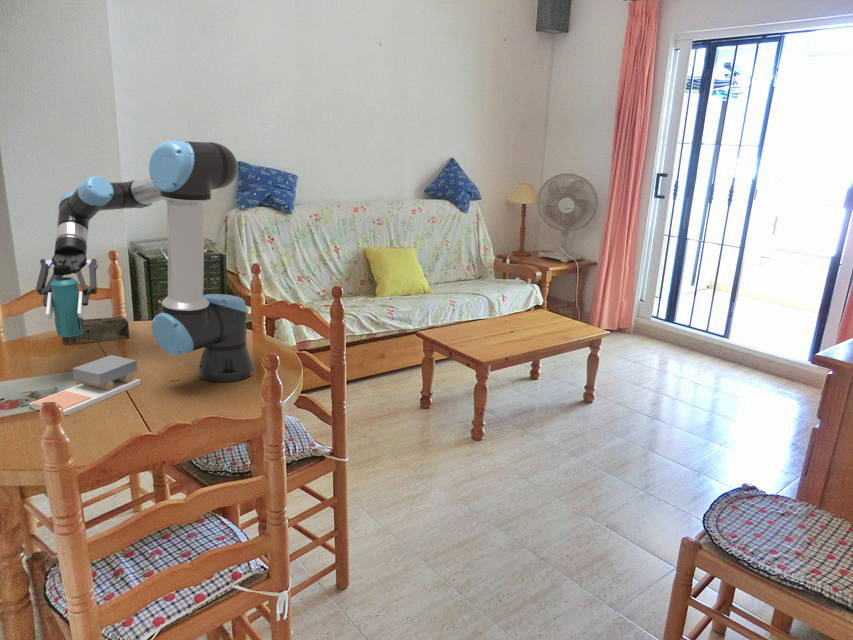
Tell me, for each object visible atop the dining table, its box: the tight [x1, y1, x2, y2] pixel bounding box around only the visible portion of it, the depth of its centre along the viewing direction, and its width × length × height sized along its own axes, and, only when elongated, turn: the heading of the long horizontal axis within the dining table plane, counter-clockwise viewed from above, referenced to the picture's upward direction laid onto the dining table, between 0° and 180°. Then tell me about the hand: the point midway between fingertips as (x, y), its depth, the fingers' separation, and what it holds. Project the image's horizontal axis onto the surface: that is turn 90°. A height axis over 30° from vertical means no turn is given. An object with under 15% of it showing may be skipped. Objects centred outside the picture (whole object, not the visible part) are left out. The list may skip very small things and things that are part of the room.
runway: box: [28, 373, 142, 417], centre depth 158 cm, size 11×24×4 cm, turn 159°
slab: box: [72, 354, 138, 385], centre depth 162 cm, size 9×12×3 cm
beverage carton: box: [62, 316, 130, 346], centre depth 200 cm, size 8×19×7 cm, turn 123°
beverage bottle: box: [50, 265, 84, 338], centre depth 162 cm, size 6×7×20 cm
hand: (64, 316), depth 159 cm, fingers closed on beverage bottle, 6 cm apart
